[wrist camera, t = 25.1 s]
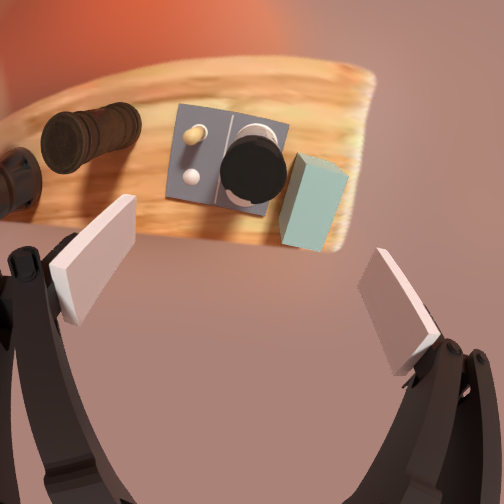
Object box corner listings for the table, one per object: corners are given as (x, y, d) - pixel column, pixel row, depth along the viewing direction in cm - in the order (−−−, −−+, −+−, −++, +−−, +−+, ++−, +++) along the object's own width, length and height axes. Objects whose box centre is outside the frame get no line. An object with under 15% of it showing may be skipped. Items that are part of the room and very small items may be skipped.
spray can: (261, 170, 45) (266, 217, 28) (226, 150, 43) (206, 185, 26) (282, 138, 42) (303, 163, 25) (247, 117, 41) (241, 126, 23)
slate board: (167, 194, 49) (154, 208, 43) (180, 103, 40) (168, 104, 34) (264, 214, 51) (265, 231, 45) (288, 124, 42) (294, 128, 36)
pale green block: (278, 220, 51) (281, 243, 44) (297, 152, 45) (306, 163, 37) (311, 227, 52) (320, 252, 44) (333, 162, 45) (348, 176, 38)
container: (150, 128, 42) (99, 147, 27) (116, 158, 45) (60, 189, 29) (125, 92, 38) (65, 95, 23) (92, 123, 41) (29, 142, 25)
